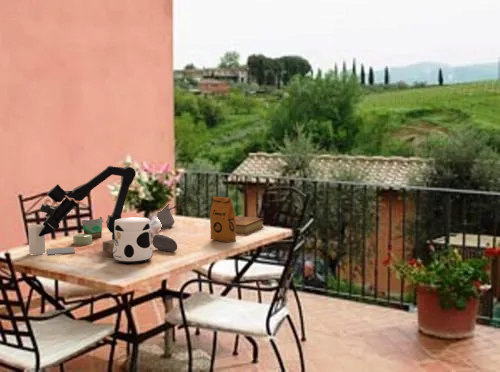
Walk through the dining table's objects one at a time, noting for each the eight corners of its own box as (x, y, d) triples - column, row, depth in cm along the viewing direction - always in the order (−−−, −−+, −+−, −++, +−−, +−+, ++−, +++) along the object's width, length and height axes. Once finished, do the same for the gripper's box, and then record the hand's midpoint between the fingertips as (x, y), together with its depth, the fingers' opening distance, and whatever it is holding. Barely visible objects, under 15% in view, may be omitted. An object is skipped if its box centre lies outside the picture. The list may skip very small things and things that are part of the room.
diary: (233, 225, 364) (233, 215, 364) (263, 228, 356) (263, 218, 356) (214, 232, 343) (214, 222, 343) (245, 235, 336) (245, 224, 335)
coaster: (73, 248, 305) (73, 246, 305) (75, 253, 294) (75, 252, 294) (47, 250, 301) (47, 248, 301) (47, 255, 290) (47, 254, 290)
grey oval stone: (180, 252, 295) (180, 237, 294) (172, 254, 292) (171, 239, 291) (160, 247, 306) (160, 233, 305) (151, 249, 302) (151, 234, 301)
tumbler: (46, 253, 294) (45, 226, 292) (32, 255, 290) (31, 227, 288) (42, 251, 299) (40, 223, 297) (28, 253, 295) (26, 225, 293)
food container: (90, 240, 322) (89, 221, 321) (82, 239, 326) (81, 220, 324) (109, 236, 332) (108, 217, 330) (101, 235, 335) (100, 216, 334)
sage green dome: (95, 243, 315) (94, 235, 315) (77, 246, 310) (77, 238, 310) (88, 240, 323) (87, 233, 322) (70, 243, 317) (70, 235, 317)
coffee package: (226, 243, 313) (225, 199, 310) (207, 240, 321) (207, 197, 318) (239, 240, 321) (239, 197, 318) (220, 237, 328) (220, 195, 326)
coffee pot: (149, 227, 357) (149, 200, 356) (163, 224, 367) (162, 198, 365) (179, 231, 346) (178, 203, 344) (192, 227, 355) (192, 201, 353)
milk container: (105, 260, 279) (104, 220, 277) (138, 254, 291) (137, 215, 289) (127, 267, 267) (126, 225, 265) (161, 260, 279) (160, 220, 277)
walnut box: (122, 256, 288) (121, 241, 287) (111, 258, 283) (111, 243, 282) (113, 254, 292) (113, 239, 291) (103, 257, 287) (102, 241, 286)
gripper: (49, 195, 302) (25, 219, 300) (50, 200, 285) (25, 226, 282) (67, 210, 306) (43, 234, 303) (69, 217, 288) (44, 242, 286)
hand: (39, 234), depth 294 cm, fingers open, 9 cm apart
